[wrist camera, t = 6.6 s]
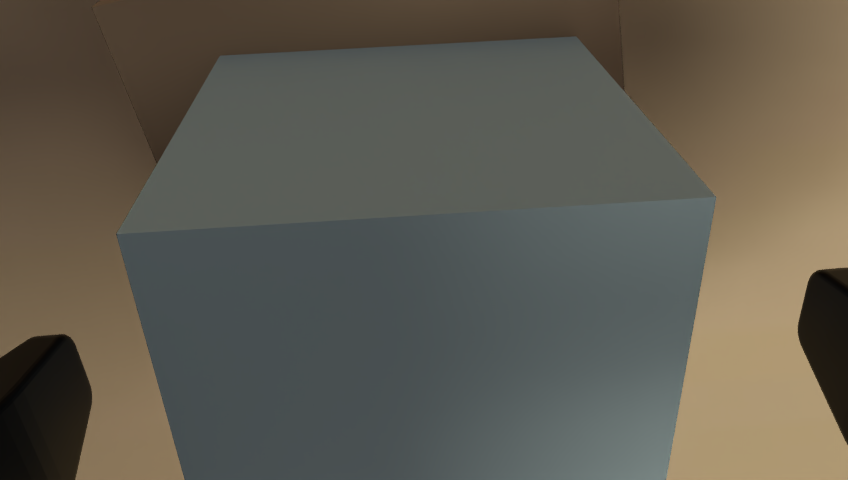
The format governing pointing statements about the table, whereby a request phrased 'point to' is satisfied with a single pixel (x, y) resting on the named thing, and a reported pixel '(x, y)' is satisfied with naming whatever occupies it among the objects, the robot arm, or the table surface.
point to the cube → (419, 268)
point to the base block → (316, 37)
